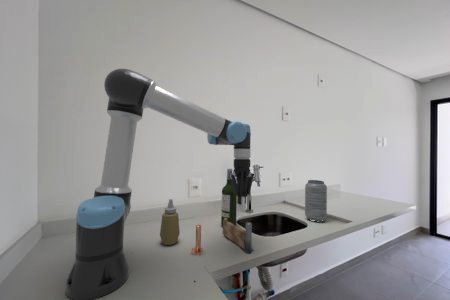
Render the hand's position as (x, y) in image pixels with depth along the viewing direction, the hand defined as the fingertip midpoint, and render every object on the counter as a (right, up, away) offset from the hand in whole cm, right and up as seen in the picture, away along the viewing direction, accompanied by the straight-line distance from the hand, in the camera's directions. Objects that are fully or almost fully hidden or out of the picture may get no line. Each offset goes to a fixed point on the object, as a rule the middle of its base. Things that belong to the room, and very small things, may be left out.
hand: (241, 211), depth 87 cm
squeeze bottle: (-31, -12, -5) cm, 33 cm away
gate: (-4, -11, -4) cm, 13 cm away
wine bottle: (-6, -13, +15) cm, 20 cm away
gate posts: (-8, -12, -11) cm, 18 cm away
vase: (+46, -14, +28) cm, 55 cm away
